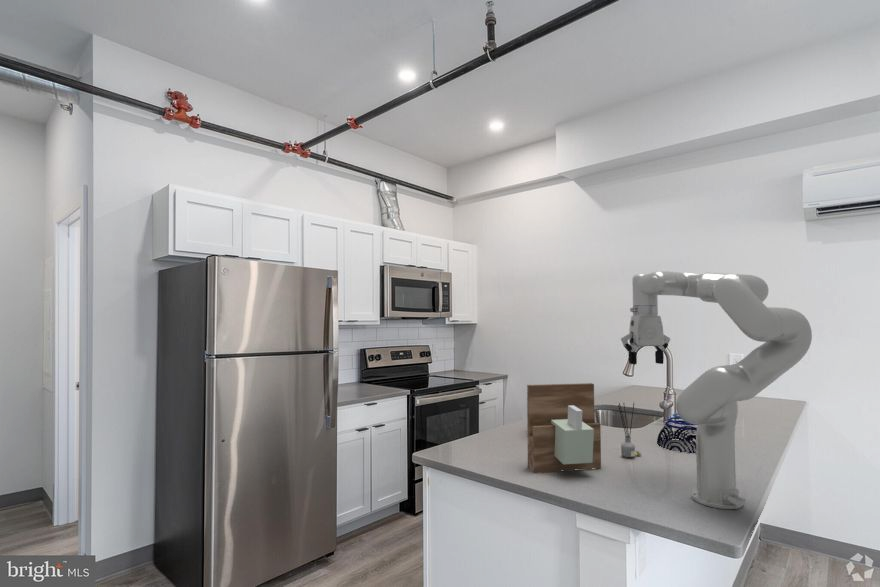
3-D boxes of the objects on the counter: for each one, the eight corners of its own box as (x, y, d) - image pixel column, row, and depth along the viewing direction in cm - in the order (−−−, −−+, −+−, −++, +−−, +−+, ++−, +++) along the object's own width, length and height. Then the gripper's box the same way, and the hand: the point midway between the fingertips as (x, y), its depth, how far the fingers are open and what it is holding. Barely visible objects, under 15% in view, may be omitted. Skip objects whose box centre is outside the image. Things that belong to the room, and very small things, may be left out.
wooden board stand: (601, 468, 161) (599, 385, 163) (534, 473, 157) (534, 387, 158) (592, 463, 167) (591, 383, 169) (527, 467, 163) (527, 384, 164)
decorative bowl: (721, 447, 189) (720, 410, 190) (704, 457, 175) (703, 418, 176) (668, 437, 203) (668, 403, 204) (649, 446, 189) (648, 410, 190)
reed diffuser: (625, 461, 170) (624, 404, 171) (610, 455, 176) (609, 401, 177) (644, 457, 175) (643, 402, 176) (629, 452, 181) (628, 399, 182)
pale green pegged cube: (592, 462, 153) (594, 410, 152) (563, 464, 152) (565, 412, 151) (576, 450, 164) (578, 401, 163) (549, 451, 162) (551, 402, 161)
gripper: (628, 311, 151) (629, 365, 150) (676, 311, 154) (677, 364, 154) (615, 311, 158) (615, 363, 157) (661, 311, 162) (662, 362, 161)
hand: (646, 363), depth 155 cm, fingers open, 9 cm apart
